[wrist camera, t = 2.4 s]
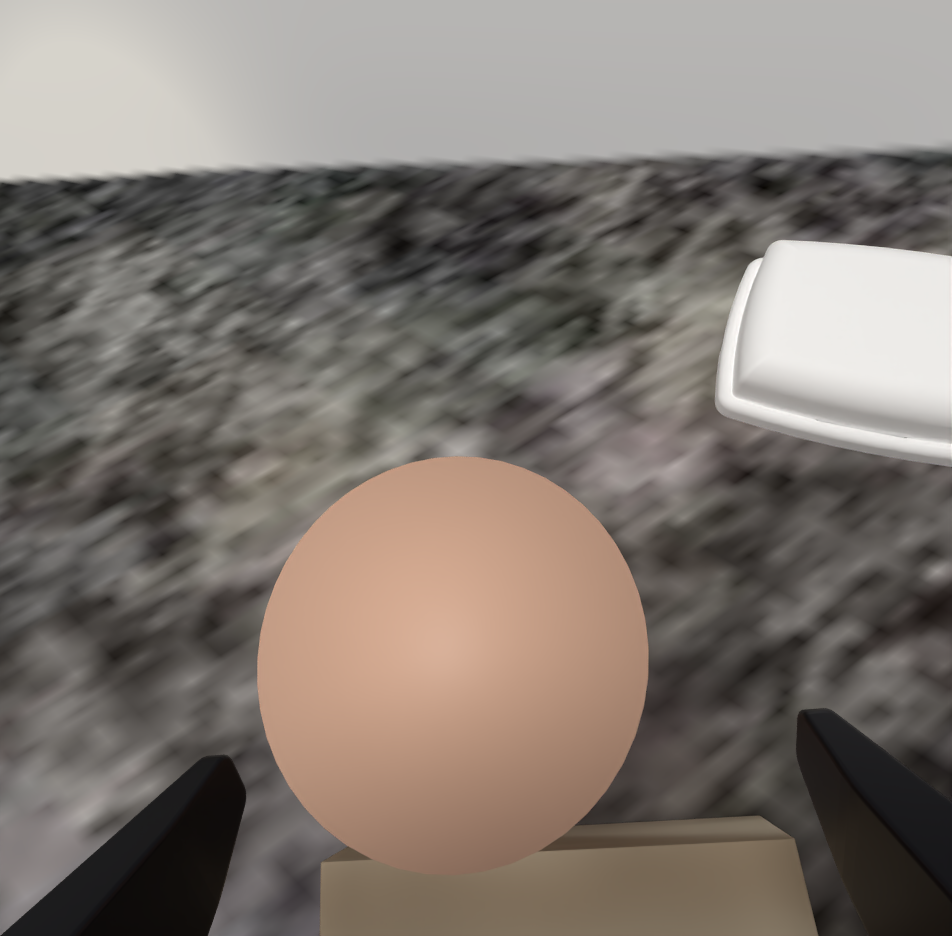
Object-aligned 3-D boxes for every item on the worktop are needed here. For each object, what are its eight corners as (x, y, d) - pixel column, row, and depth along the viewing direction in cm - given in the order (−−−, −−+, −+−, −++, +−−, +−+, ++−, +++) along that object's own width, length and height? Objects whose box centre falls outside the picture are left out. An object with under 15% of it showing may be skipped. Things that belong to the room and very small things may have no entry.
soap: (702, 423, 20) (718, 381, 18) (739, 265, 22) (758, 206, 20) (1010, 488, 18) (1083, 450, 15) (1021, 304, 20) (1086, 242, 17)
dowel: (549, 797, 17) (461, 993, 5) (437, 690, 18) (185, 665, 7) (641, 671, 18) (734, 610, 6) (525, 579, 19) (429, 394, 8)
